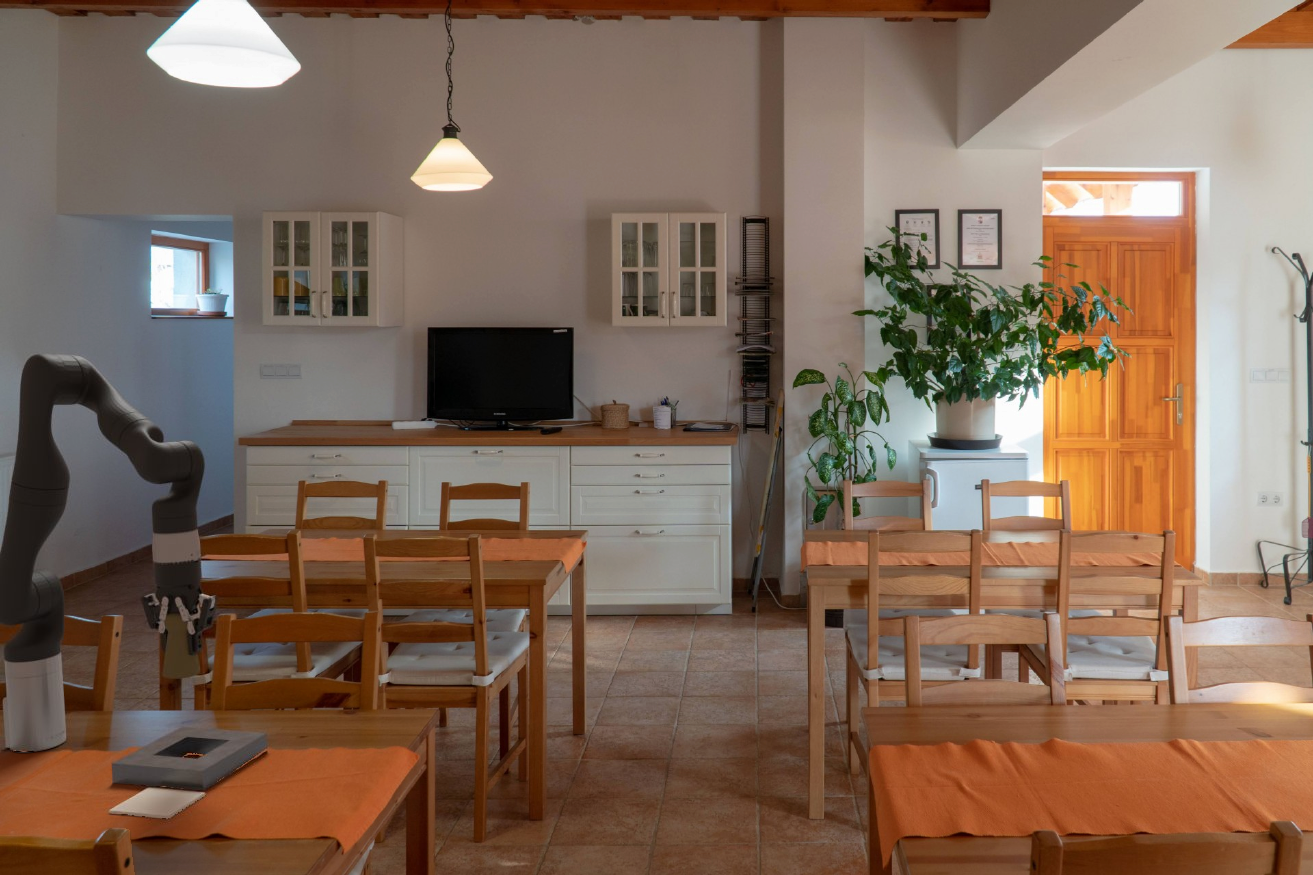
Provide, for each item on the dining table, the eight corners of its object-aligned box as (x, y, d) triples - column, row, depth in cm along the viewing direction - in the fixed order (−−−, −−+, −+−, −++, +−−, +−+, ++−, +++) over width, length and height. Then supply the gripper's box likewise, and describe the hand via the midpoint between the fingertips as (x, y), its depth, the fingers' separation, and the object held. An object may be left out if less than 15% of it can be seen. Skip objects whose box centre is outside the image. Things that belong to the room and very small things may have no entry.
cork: (187, 679, 177) (186, 617, 176) (154, 677, 177) (153, 614, 176) (207, 669, 183) (206, 608, 182) (175, 666, 183) (174, 606, 182)
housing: (112, 783, 177) (111, 763, 177) (183, 744, 195) (182, 726, 194) (203, 791, 173) (202, 771, 173) (267, 751, 191) (266, 733, 190)
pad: (109, 813, 165) (108, 810, 165) (148, 790, 174) (148, 787, 174) (168, 819, 163) (168, 816, 163) (205, 795, 171) (205, 792, 171)
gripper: (125, 560, 176) (131, 658, 177) (199, 561, 173) (204, 661, 174) (156, 552, 184) (161, 646, 185) (226, 553, 180) (232, 649, 182)
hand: (182, 653), depth 180 cm, fingers closed on cork, 4 cm apart
